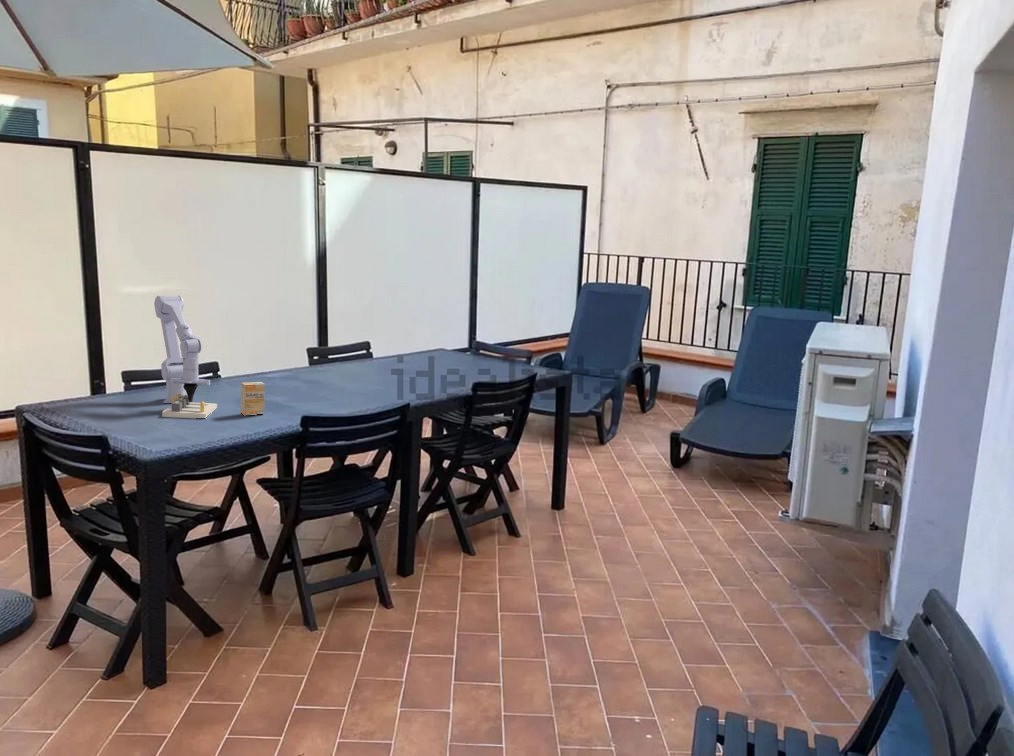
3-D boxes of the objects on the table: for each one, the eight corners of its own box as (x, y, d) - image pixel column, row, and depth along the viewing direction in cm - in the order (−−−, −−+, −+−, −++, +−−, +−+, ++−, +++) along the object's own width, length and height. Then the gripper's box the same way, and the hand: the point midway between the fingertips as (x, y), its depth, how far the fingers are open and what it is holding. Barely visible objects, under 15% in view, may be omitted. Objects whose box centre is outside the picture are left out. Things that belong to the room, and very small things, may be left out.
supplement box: (243, 416, 298) (244, 384, 296) (240, 414, 302) (240, 382, 300) (264, 415, 303) (265, 383, 301) (260, 412, 307) (261, 381, 304)
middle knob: (178, 405, 299) (178, 397, 298) (186, 406, 299) (186, 397, 298) (176, 407, 296) (176, 399, 295) (184, 408, 296) (184, 399, 295)
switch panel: (176, 406, 305) (176, 392, 304) (217, 408, 307) (217, 394, 306) (162, 416, 289) (162, 401, 288) (205, 418, 291) (205, 403, 290)
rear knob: (182, 402, 304) (181, 394, 303) (189, 402, 304) (189, 394, 304) (179, 404, 301) (179, 396, 300) (187, 404, 301) (187, 396, 301)
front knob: (174, 409, 293) (174, 400, 293) (182, 409, 294) (182, 401, 293) (171, 411, 290) (171, 402, 290) (179, 411, 291) (179, 402, 290)
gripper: (168, 369, 295) (168, 403, 298) (206, 371, 297) (206, 404, 300) (174, 366, 302) (174, 399, 305) (211, 368, 304) (211, 400, 307)
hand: (190, 401), depth 303 cm, fingers closed
